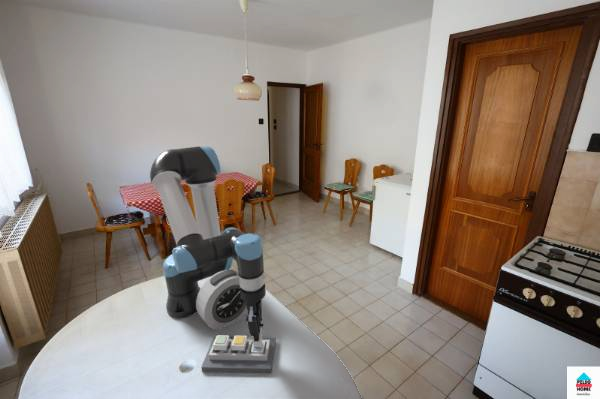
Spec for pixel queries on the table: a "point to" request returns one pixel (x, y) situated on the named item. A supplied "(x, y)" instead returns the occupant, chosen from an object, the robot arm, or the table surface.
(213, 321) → the alarm clock
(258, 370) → the keypad
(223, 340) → the key sage
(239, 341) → the key ochre
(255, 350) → the key blue
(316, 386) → the table surface
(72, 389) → the table surface
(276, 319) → the table surface
